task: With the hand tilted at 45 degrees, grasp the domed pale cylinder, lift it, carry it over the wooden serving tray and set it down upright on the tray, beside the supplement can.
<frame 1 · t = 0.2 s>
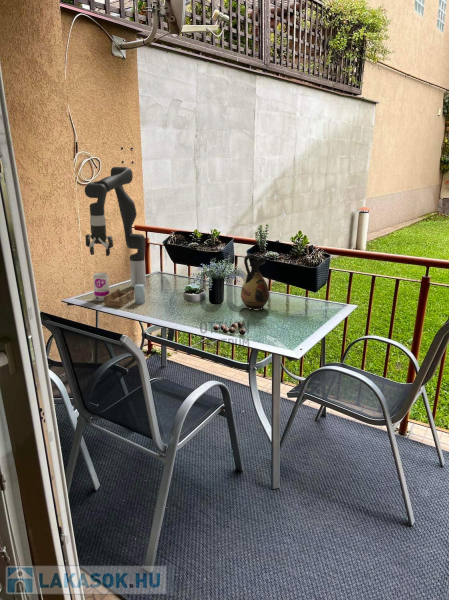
hand: (100, 255, 231), 29 cm above the table, tool pointing down, fingers open, 8 cm apart
supplement can: (102, 299, 255), on the table
domed pale cylinder: (140, 302, 250), on the table
wooden serving tray: (119, 302, 250), on the table
ceramic jug: (252, 308, 244), on the table
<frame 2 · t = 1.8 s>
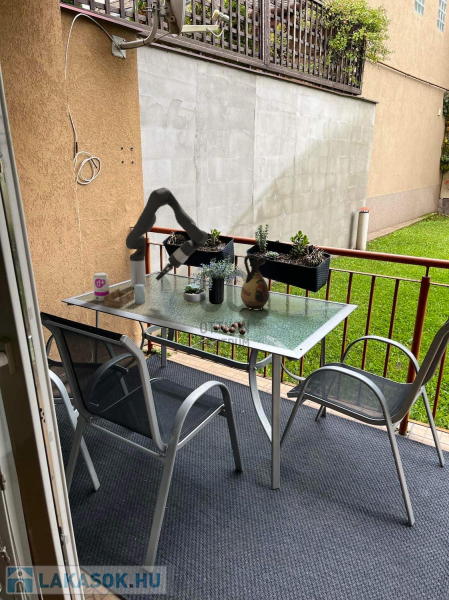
hand: (158, 277, 244), 15 cm above the table, tool tilted 45°, fingers open, 8 cm apart
nothing on the table moved.
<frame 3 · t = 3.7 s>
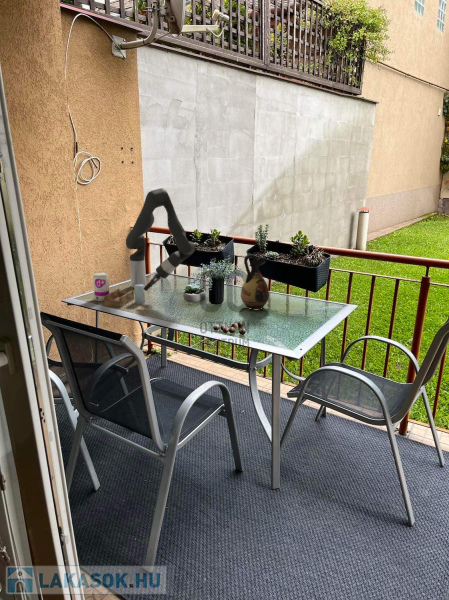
hand: (146, 287, 247), 9 cm above the table, tool tilted 45°, fingers open, 8 cm apart
nothing on the table moved.
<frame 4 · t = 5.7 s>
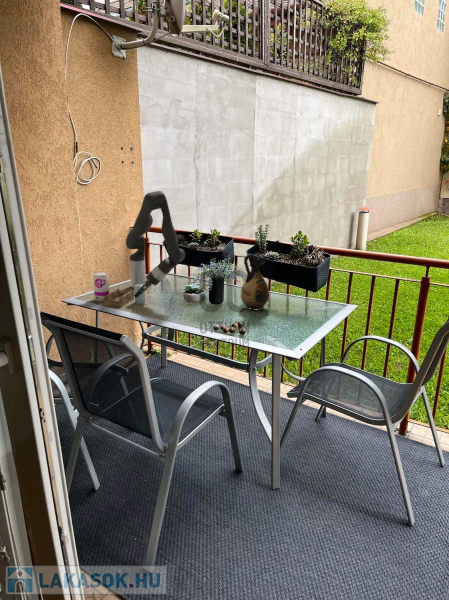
hand: (136, 295, 249), 4 cm above the table, tool tilted 45°, fingers closed on domed pale cylinder, 5 cm apart
domed pale cylinder: (140, 302, 250), on the table, touching gripper
everything else where it was.
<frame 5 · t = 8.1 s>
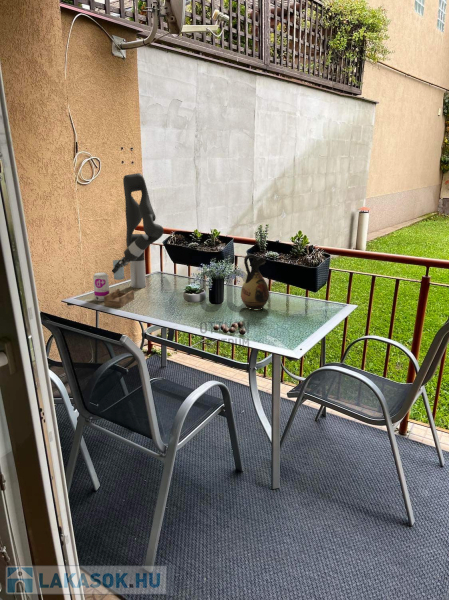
hand: (115, 270, 245), 18 cm above the table, tool tilted 45°, fingers closed on domed pale cylinder, 5 cm apart
domed pale cylinder: (119, 278, 246), point 14 cm above the table, touching gripper
everything else where it was.
when the fingers open (7 cm above the table, at t = 10.6 s): domed pale cylinder drops 2 cm, resting on wooden serving tray.
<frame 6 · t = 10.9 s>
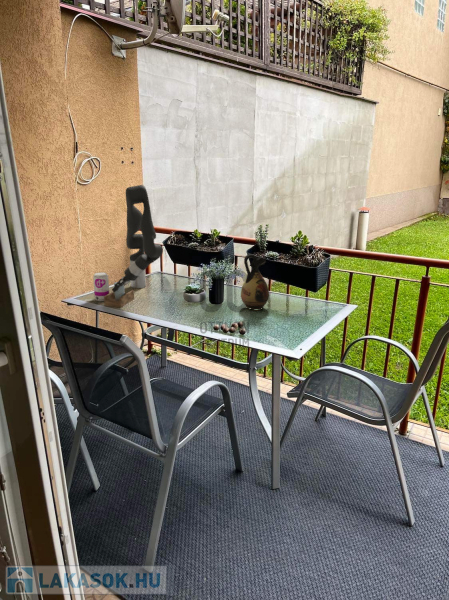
hand: (116, 289, 248), 8 cm above the table, tool tilted 45°, fingers open, 7 cm apart
domed pale cylinder: (119, 300, 249), point 1 cm above the table, touching wooden serving tray
everything else where it was.
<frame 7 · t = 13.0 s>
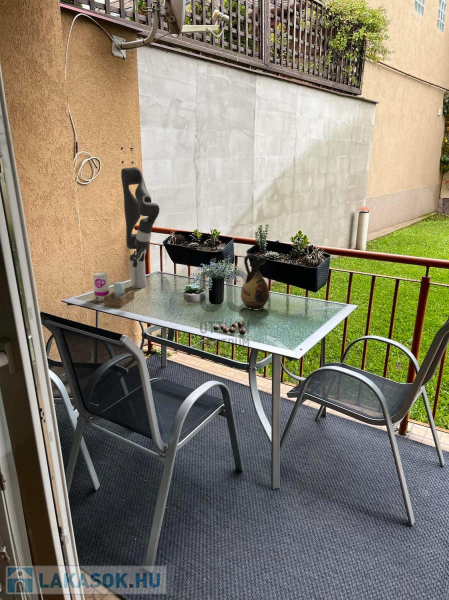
hand: (137, 264, 245), 22 cm above the table, tool tilted 20°, fingers open, 8 cm apart
nothing on the table moved.
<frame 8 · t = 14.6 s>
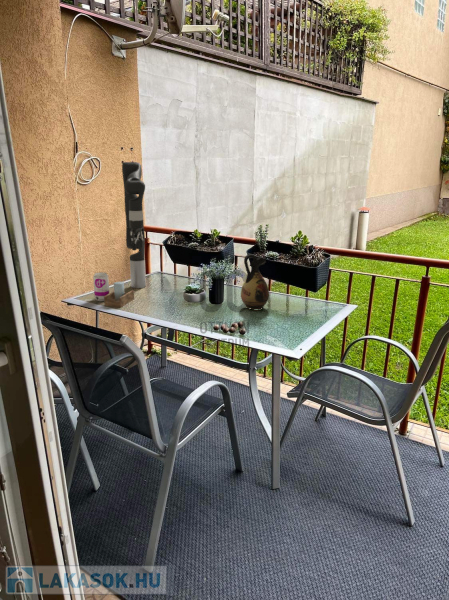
hand: (137, 248, 243), 30 cm above the table, tool pointing down, fingers open, 8 cm apart
nothing on the table moved.
at the end: domed pale cylinder inside the target area on the wooden serving tray (0.2 cm from its centre), point 1.2 cm above the wooden serving tray's base; domed pale cylinder tilted 0°; the gripper is holding nothing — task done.
